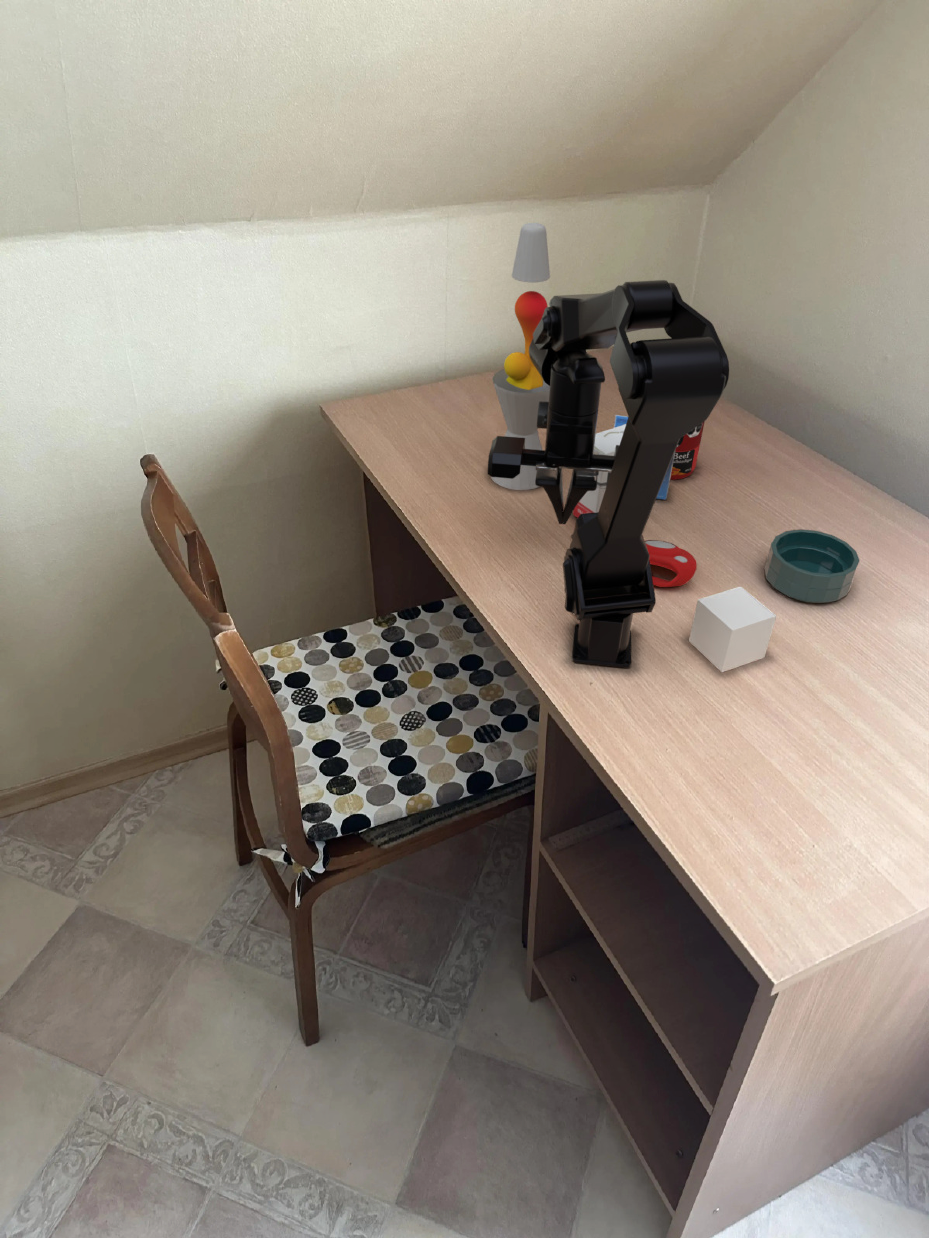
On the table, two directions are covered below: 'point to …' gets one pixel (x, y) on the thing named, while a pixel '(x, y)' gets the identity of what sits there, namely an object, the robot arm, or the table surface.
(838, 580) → the bowl
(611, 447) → the ink box
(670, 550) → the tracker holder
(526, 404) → the lava lamp
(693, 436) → the canned food
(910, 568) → the table surface
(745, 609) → the white cube
